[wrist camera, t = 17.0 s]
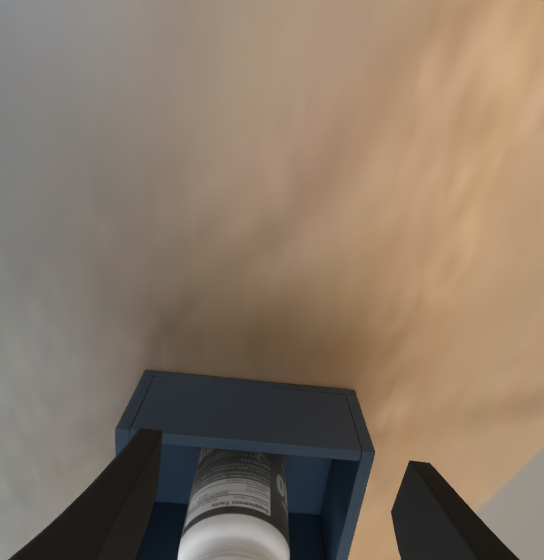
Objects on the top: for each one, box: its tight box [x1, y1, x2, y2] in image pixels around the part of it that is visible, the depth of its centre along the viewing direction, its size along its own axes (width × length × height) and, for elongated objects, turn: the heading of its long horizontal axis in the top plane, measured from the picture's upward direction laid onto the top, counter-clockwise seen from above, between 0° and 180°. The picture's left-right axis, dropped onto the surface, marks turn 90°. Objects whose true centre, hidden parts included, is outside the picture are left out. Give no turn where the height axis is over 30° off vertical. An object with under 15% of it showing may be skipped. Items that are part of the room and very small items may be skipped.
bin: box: [115, 370, 375, 560], centre depth 21 cm, size 11×9×4 cm
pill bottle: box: [178, 447, 290, 560], centre depth 19 cm, size 5×5×8 cm
